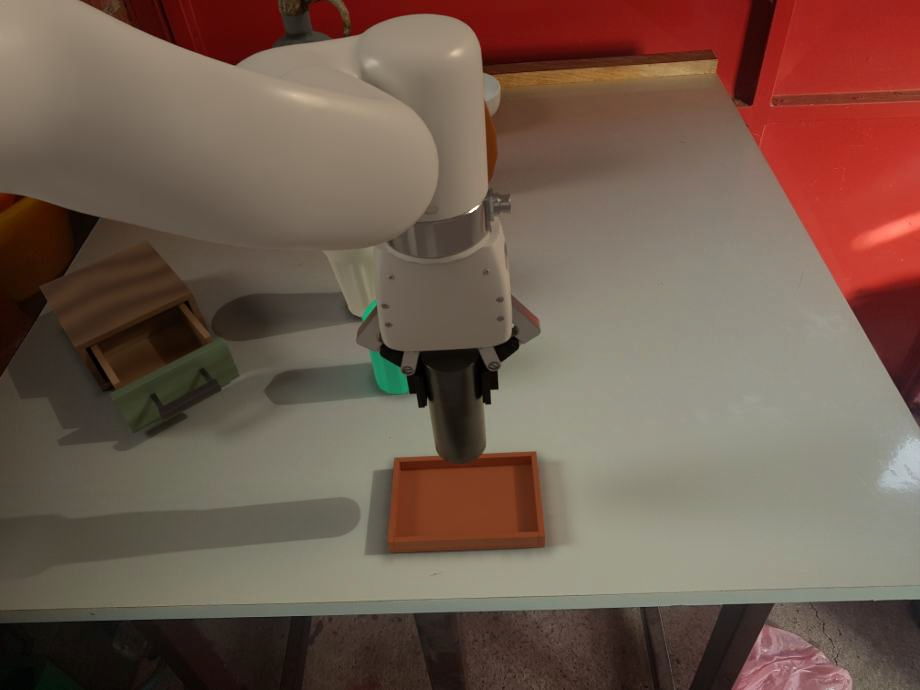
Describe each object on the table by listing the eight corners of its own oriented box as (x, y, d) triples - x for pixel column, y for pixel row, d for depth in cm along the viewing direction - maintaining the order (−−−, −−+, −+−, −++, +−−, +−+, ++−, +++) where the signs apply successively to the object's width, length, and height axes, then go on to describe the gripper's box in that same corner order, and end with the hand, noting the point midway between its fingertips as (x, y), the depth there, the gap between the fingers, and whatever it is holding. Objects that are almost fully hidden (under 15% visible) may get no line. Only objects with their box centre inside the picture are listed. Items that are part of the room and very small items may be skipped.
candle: (405, 352, 89) (392, 278, 80) (434, 377, 85) (423, 302, 77) (366, 375, 86) (349, 301, 78) (394, 402, 83) (379, 327, 74)
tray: (389, 552, 68) (387, 542, 67) (396, 468, 76) (394, 457, 74) (544, 546, 67) (545, 536, 66) (536, 461, 75) (536, 451, 74)
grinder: (434, 465, 63) (419, 374, 55) (435, 424, 67) (422, 333, 58) (487, 463, 63) (480, 371, 55) (485, 422, 66) (479, 329, 58)
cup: (367, 339, 91) (349, 259, 82) (320, 308, 96) (298, 229, 87) (421, 301, 96) (410, 221, 87) (374, 273, 101) (359, 195, 92)
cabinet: (211, 336, 93) (191, 291, 88) (102, 391, 87) (74, 346, 82) (167, 283, 103) (147, 240, 97) (65, 329, 97) (38, 286, 91)
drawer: (256, 395, 84) (242, 360, 80) (147, 456, 78) (126, 422, 74) (193, 319, 95) (178, 285, 91) (94, 367, 89) (73, 334, 85)
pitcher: (301, 104, 145) (263, -57, 125) (380, 115, 139) (354, -52, 118) (270, 127, 138) (225, -39, 118) (352, 140, 132) (320, -33, 111)
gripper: (554, 178, 50) (549, 358, 62) (319, 193, 50) (361, 368, 63) (566, 239, 44) (558, 423, 57) (303, 255, 45) (352, 432, 58)
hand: (454, 392), depth 60 cm, fingers closed on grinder, 4 cm apart
